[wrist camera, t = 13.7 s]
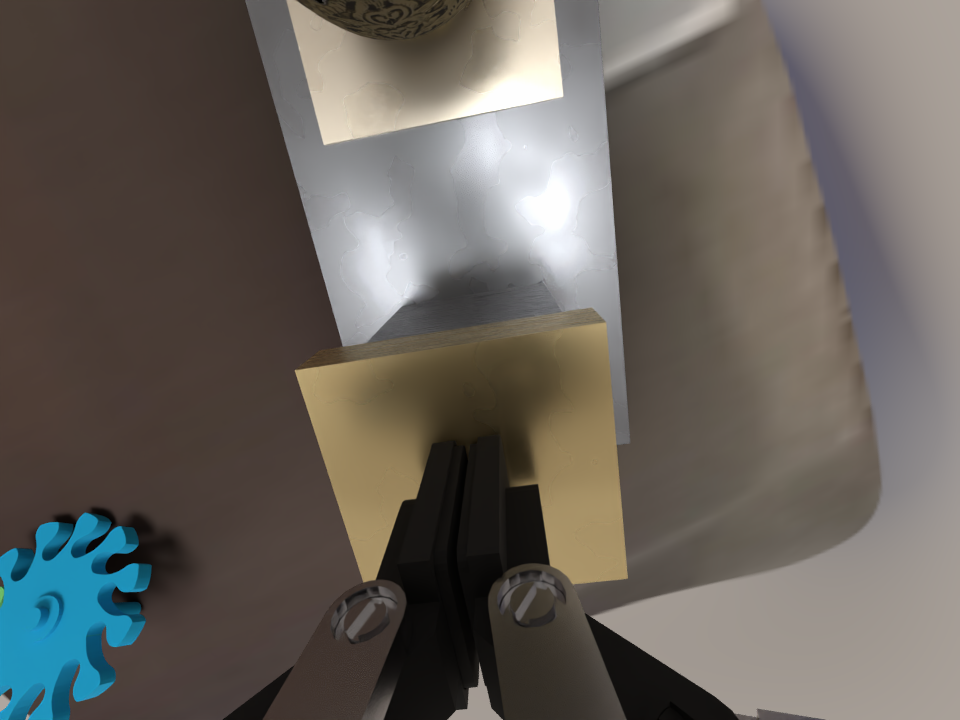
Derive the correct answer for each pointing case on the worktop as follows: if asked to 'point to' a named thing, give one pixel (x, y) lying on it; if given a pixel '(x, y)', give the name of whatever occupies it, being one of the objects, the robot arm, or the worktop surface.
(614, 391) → the base
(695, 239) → the worktop surface
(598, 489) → the plate
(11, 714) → the gear
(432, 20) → the dark brown rounded piece
